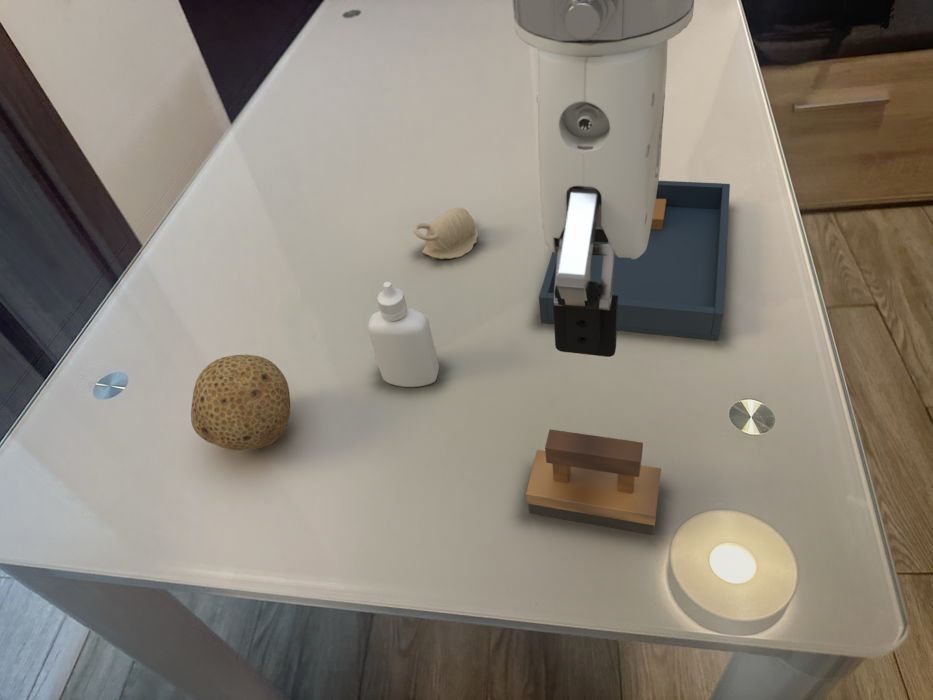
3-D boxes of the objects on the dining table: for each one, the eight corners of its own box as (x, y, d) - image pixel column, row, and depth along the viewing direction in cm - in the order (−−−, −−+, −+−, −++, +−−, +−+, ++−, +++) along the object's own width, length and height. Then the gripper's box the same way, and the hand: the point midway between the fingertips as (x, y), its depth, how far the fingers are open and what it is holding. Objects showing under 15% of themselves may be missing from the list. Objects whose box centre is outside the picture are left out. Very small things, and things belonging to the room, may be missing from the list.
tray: (725, 209, 83) (730, 183, 80) (718, 340, 69) (723, 313, 66) (575, 201, 88) (574, 176, 85) (540, 322, 74) (538, 297, 71)
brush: (658, 490, 58) (665, 431, 53) (653, 537, 56) (660, 480, 50) (539, 471, 61) (533, 412, 55) (528, 515, 58) (521, 458, 53)
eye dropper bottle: (404, 351, 73) (380, 260, 65) (446, 371, 71) (427, 280, 62) (376, 378, 71) (347, 288, 63) (419, 400, 68) (394, 310, 60)
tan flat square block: (665, 209, 83) (666, 198, 82) (662, 230, 81) (663, 219, 80) (630, 207, 84) (631, 197, 83) (626, 228, 82) (627, 217, 81)
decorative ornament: (487, 243, 84) (483, 206, 80) (427, 273, 82) (419, 235, 78) (469, 228, 87) (464, 190, 83) (410, 256, 84) (402, 219, 80)
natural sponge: (212, 488, 64) (165, 420, 57) (214, 415, 70) (172, 345, 63) (311, 461, 65) (276, 391, 58) (304, 391, 71) (272, 320, 64)
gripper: (680, 81, 23) (649, 413, 35) (706, -89, 34) (676, 208, 46) (458, 79, 25) (502, 394, 37) (552, -81, 36) (562, 202, 48)
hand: (598, 291), depth 42 cm, fingers open, 9 cm apart
